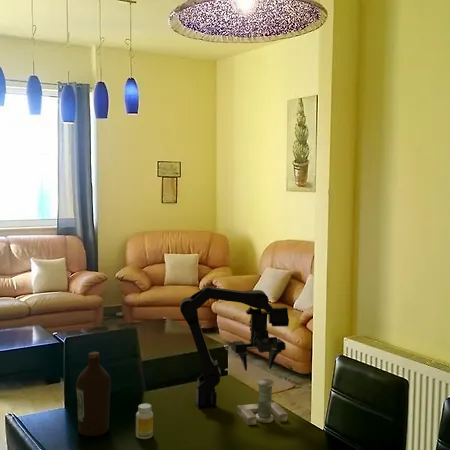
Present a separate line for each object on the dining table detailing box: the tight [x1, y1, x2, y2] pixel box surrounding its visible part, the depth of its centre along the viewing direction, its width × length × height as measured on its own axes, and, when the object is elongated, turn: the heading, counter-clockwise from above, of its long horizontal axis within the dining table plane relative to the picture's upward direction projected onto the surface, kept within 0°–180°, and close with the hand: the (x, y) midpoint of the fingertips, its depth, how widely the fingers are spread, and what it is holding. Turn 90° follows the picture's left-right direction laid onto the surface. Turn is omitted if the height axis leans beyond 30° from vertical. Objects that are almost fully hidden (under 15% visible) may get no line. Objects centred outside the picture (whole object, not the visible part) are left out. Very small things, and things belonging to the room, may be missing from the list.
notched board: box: [236, 401, 288, 426], centre depth 203 cm, size 14×11×2 cm
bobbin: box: [255, 378, 275, 424], centre depth 201 cm, size 6×6×13 cm
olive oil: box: [75, 351, 112, 437], centre depth 189 cm, size 11×11×25 cm
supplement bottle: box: [135, 403, 154, 440], centre depth 186 cm, size 5×5×10 cm
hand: (257, 369), depth 213 cm, fingers open, 9 cm apart
